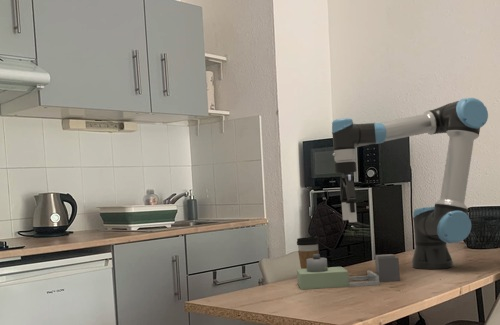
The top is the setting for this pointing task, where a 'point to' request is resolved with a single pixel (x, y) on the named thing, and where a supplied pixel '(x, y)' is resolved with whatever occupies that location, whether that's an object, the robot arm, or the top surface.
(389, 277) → the grey block
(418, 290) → the top surface
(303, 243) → the coffee cup
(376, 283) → the chute bracket
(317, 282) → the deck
